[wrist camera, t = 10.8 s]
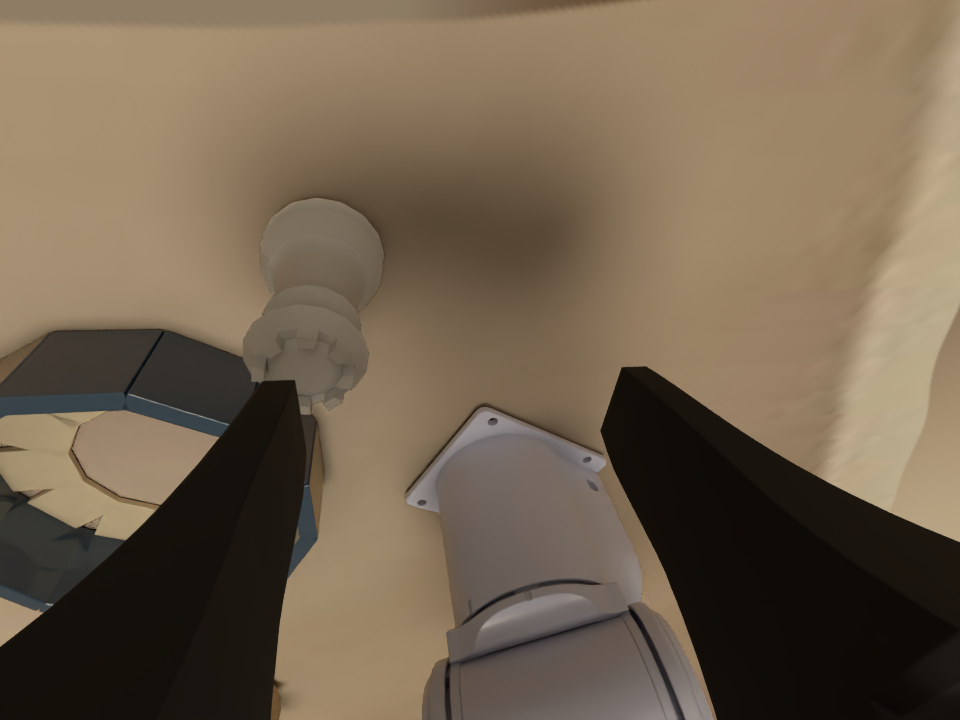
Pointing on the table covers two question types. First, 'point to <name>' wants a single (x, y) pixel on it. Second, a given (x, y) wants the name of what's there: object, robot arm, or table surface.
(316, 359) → the rook chess piece
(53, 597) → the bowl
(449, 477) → the robot arm
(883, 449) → the table surface
